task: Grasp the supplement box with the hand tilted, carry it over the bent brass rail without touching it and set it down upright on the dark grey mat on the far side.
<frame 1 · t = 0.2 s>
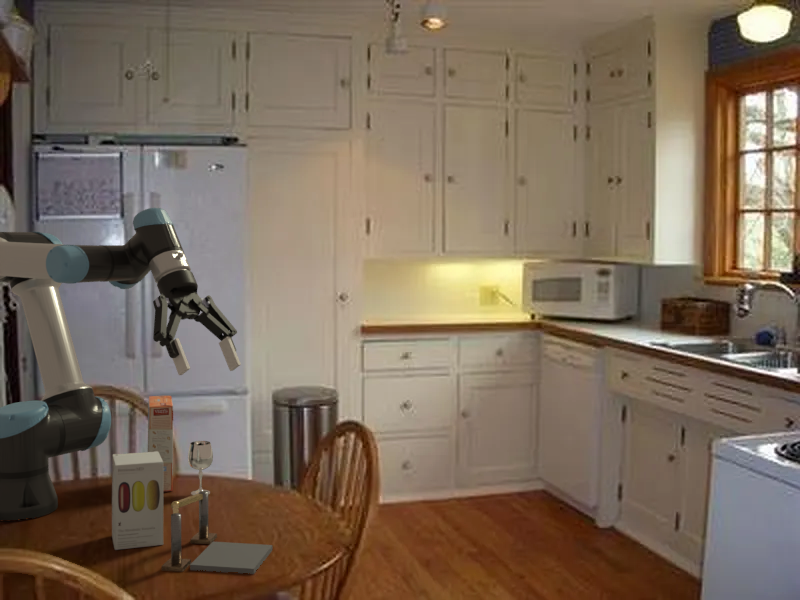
hand: (211, 370, 167), 34 cm above the table, tool tilted 35°, fingers open, 13 cm apart
supplement box: (137, 541, 170), on the table
wineglass: (200, 493, 201), on the table
bent rail: (190, 553, 163), on the table
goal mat: (232, 559, 160), on the table
cracker box: (160, 485, 208), on the table
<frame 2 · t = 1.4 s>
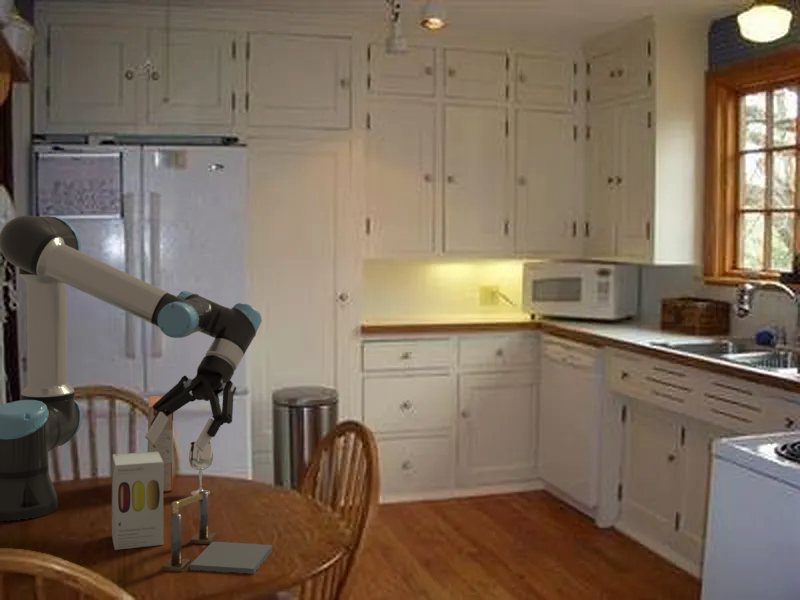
hand: (173, 444, 177), 17 cm above the table, tool tilted 45°, fingers open, 13 cm apart
nothing on the table moved.
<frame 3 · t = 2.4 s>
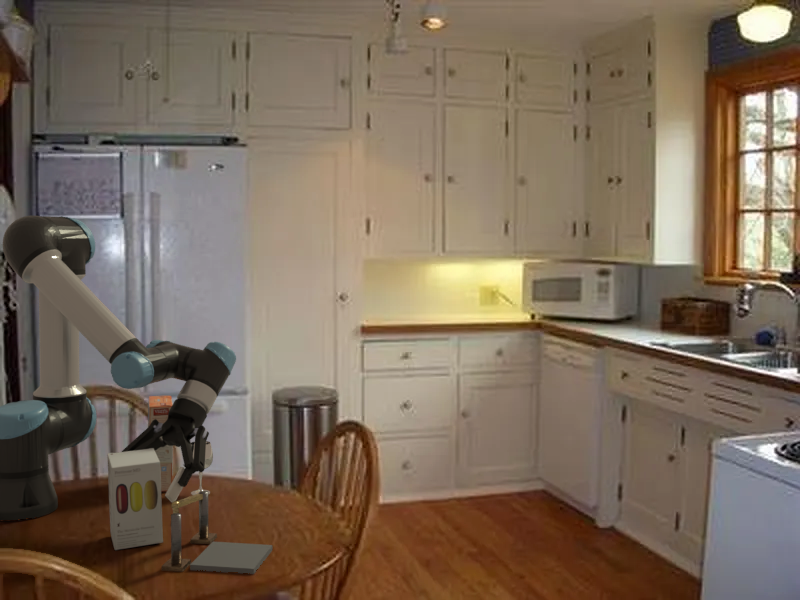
hand: (142, 494, 169), 9 cm above the table, tool tilted 45°, fingers open, 13 cm apart
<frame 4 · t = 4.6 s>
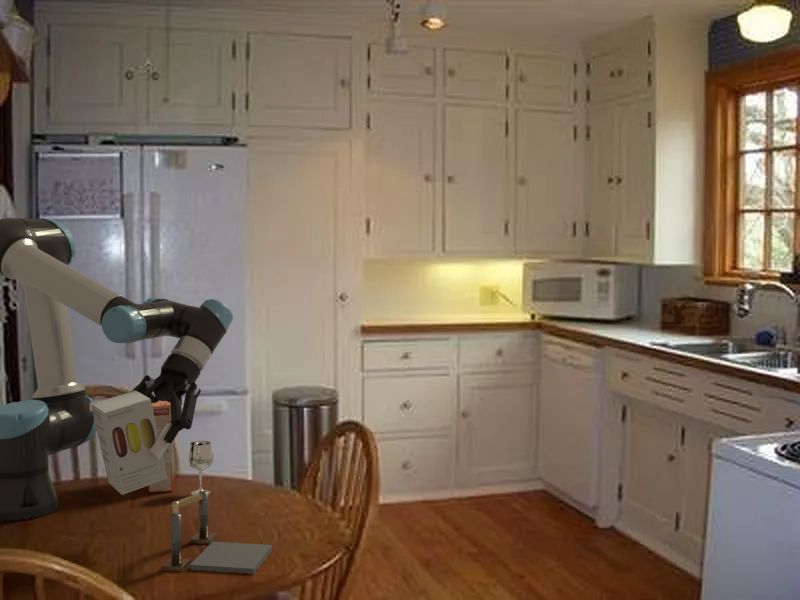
hand: (130, 450, 166), 19 cm above the table, tool tilted 45°, fingers closed on supplement box, 12 cm apart
supplement box: (138, 481, 168), point 12 cm above the table, touching gripper
everything else where it was.
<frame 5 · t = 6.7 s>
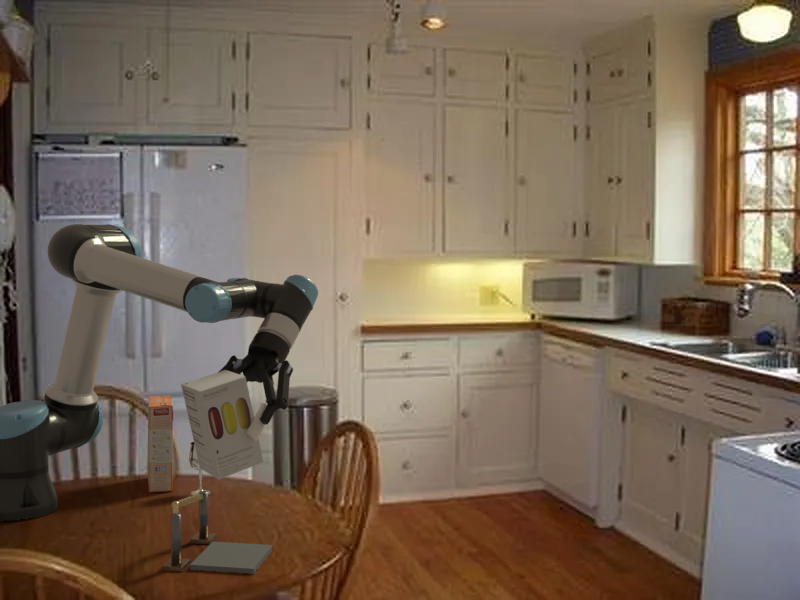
hand: (223, 433, 156), 25 cm above the table, tool tilted 45°, fingers closed on supplement box, 12 cm apart
supplement box: (232, 466, 158), point 18 cm above the table, touching gripper
everything else where it was.
when the fingers open (9 cm above the table, at t = 10.0 s): supplement box drops 2 cm, resting on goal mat.
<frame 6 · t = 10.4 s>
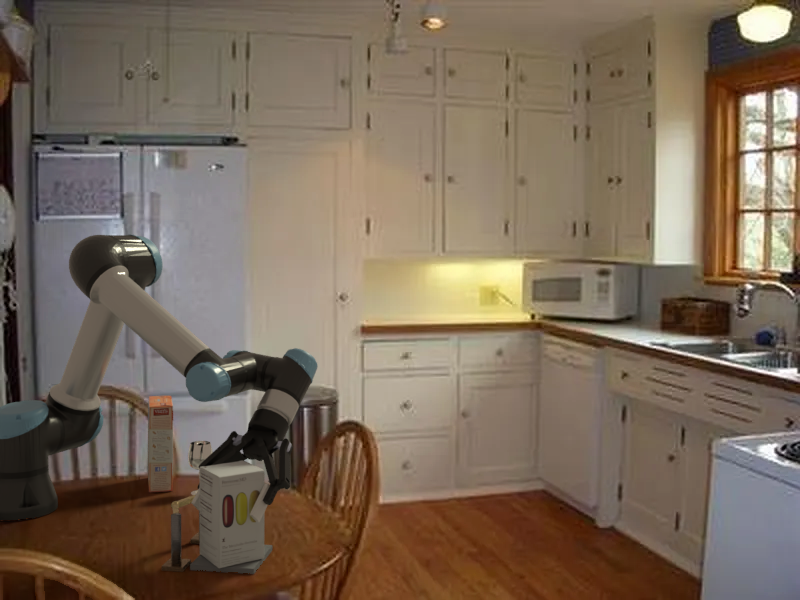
hand: (224, 512, 157), 10 cm above the table, tool tilted 45°, fingers open, 13 cm apart
supplement box: (232, 557, 159), point 1 cm above the table, touching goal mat, gripper
everything else where it was.
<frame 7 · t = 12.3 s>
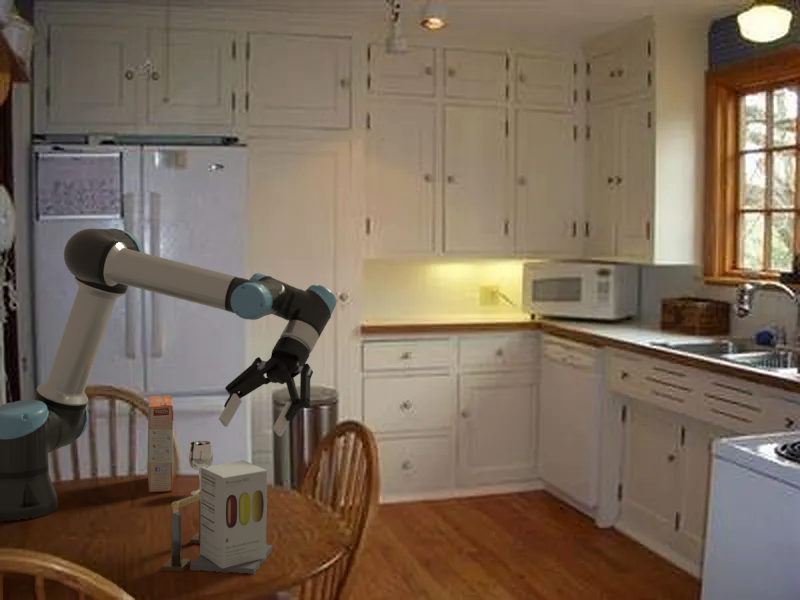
hand: (249, 427, 171), 22 cm above the table, tool tilted 45°, fingers open, 13 cm apart
supplement box: (233, 557, 159), point 1 cm above the table, touching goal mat
everything else where it was.
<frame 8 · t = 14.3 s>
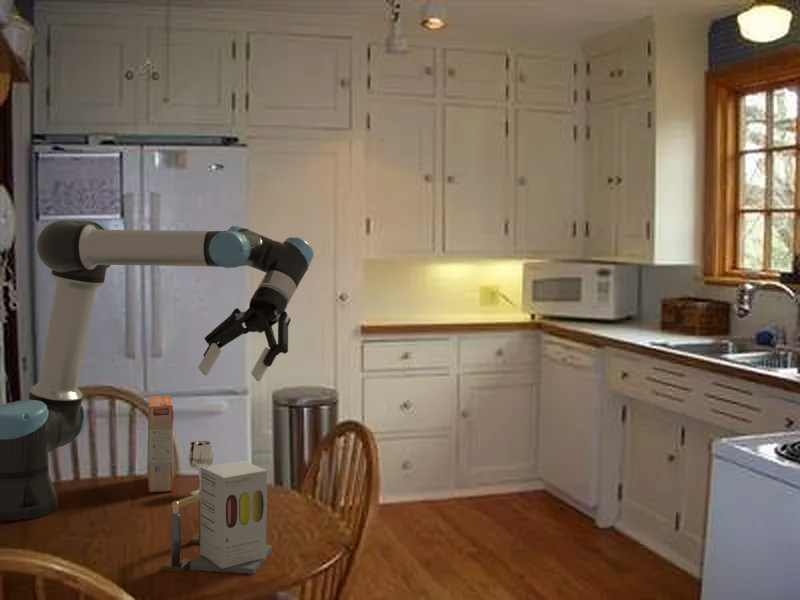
hand: (228, 374, 173), 33 cm above the table, tool tilted 45°, fingers open, 13 cm apart
nothing on the table moved.
at the end: supplement box inside the target area (0.9 cm from its centre), point 0.8 cm above the table; supplement box tilted 0°; supplement box touching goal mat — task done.
